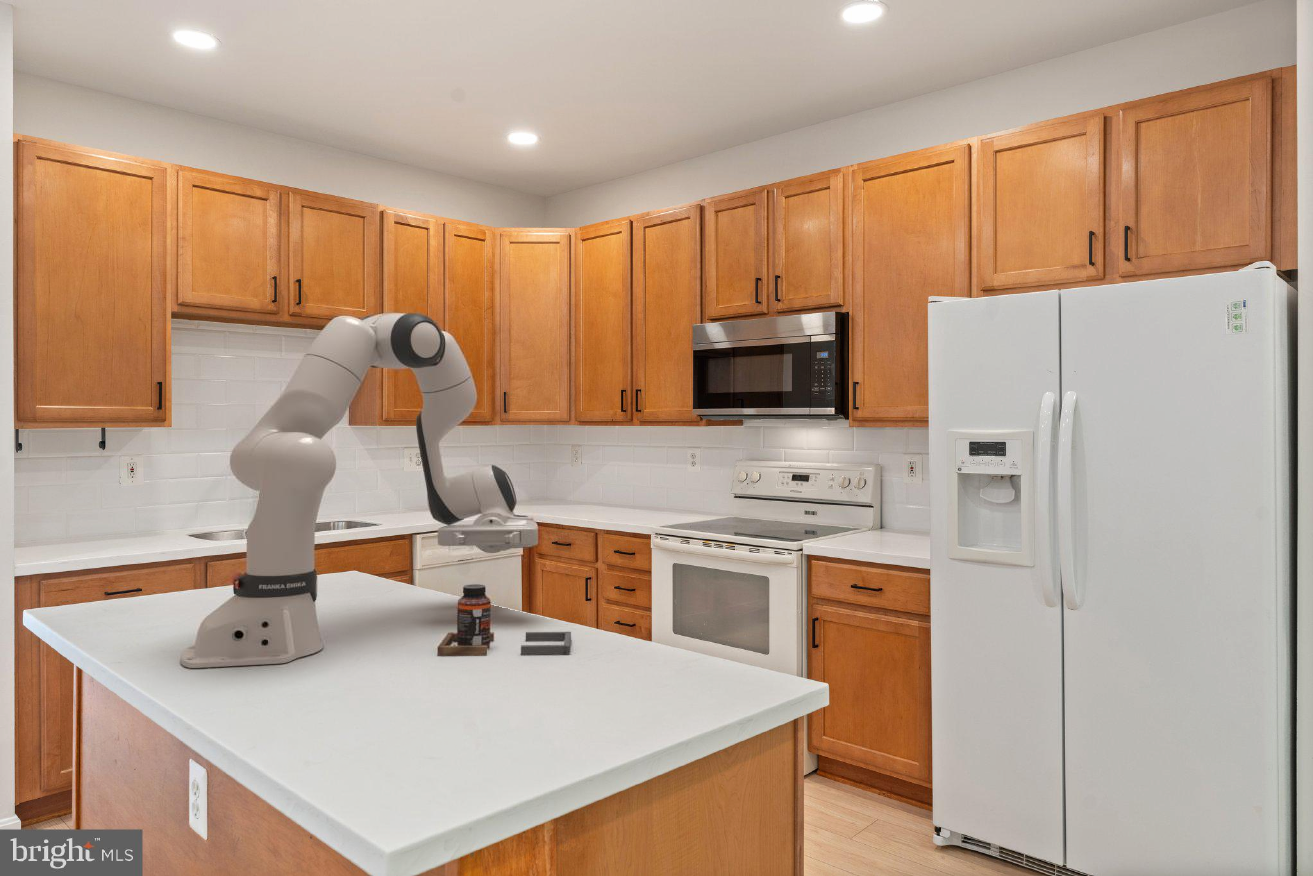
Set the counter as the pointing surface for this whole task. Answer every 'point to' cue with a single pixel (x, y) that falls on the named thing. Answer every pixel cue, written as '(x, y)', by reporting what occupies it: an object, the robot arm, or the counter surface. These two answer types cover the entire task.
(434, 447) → the robot arm
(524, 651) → the charcoal bay
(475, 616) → the supplement bottle
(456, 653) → the walnut bay
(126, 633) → the counter surface
